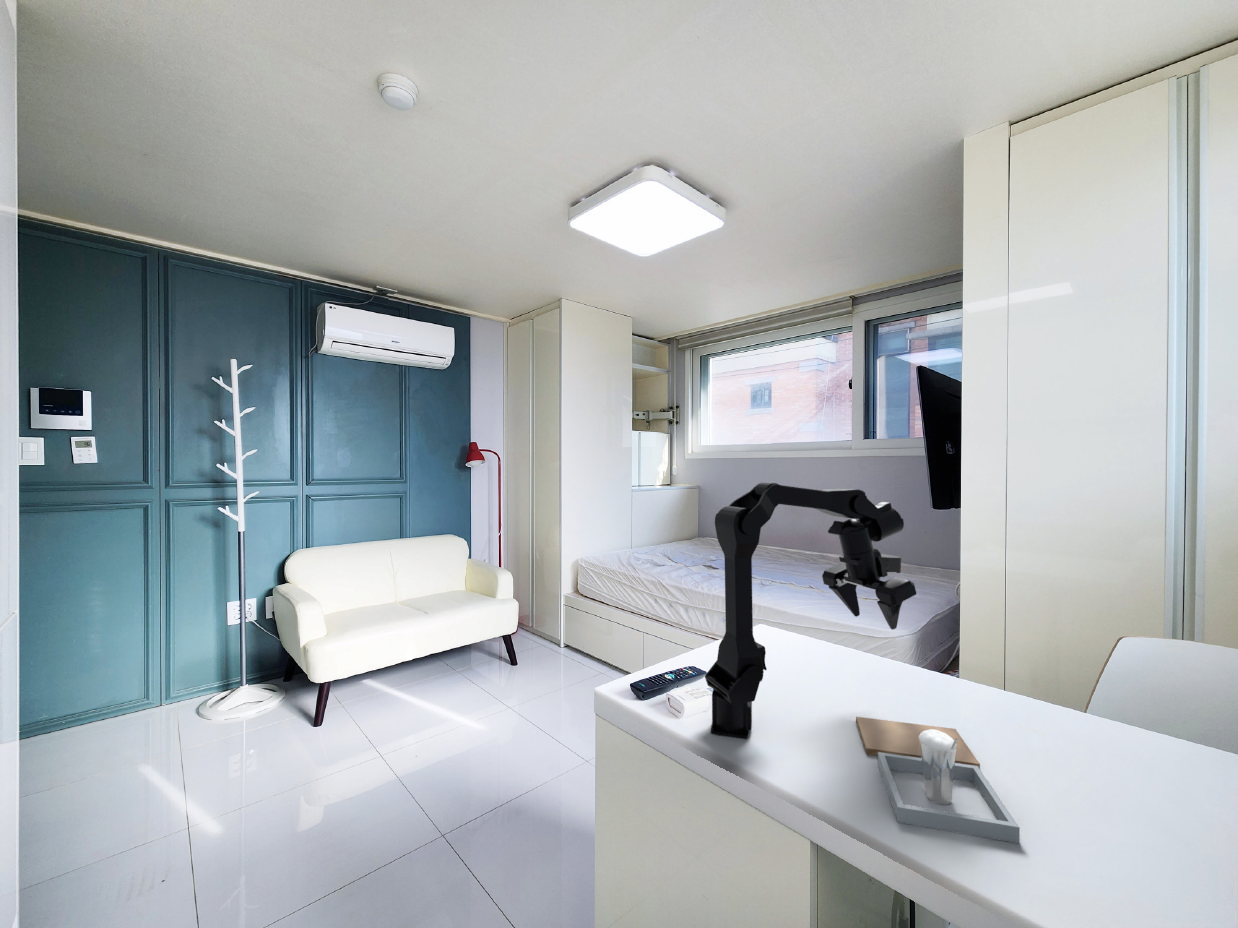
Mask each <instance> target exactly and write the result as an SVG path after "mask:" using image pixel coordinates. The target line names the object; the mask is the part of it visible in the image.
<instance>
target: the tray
mask: <svg viewBox="0 0 1238 928" xmlns="http://www.w3.org/2000/svg"><path fill="white" fill-rule="evenodd" d="M877 766H878V769H879V771H880V775H881V777H882V781H883V783H884V786H885V789H886V792H887V795H888V797H889V801H890V803H891V806H892V808H893V812H894V814H895V815H894V816H895V818H896V821H897V822H898V823H900V824H906V825H912V826H919V827H922V828H923V827H924V828H930V829H935V830H939V831H940V830H941V831H946V832H947V831H948V832H953V833H957V834H958V833H959V834H962V835H963V834H964V835H969V836H975V837H980V838H981V837H982V838H986V839H993V840H998V841H1003V842H1004V841H1005V842H1010V843H1016V844H1020V826H1019V824H1018V823H1017V821H1016V820H1015V818H1014V817H1013V816H1012V814H1011V813H1010V811H1009V810H1008V809H1007V807H1006V805H1005V804H1004V803H1003V801H1002V800H1001V798H1000V797H999V795H998V794H997V792H996V791H995V789H994V788H993V786H992V785H991V784H990V782H989V781H988V779H987V778H986V777H985V775H984V773H983V771H982V769H981V768H980V769H979V767H978V766H974V765H967V764H960V763H955V765H954V778H953V780H960V781H966V782H973V783H974V785H975V787H976V788H977V789H978V791H979V792H980V794H981V796H982V797H983V798H984V801H985V802H986V803H987V805H988V807H989V808H990V810H991V811H992V813H993V814H994V816H995V818H996V819H995V818H988V817H984V816H983V817H980V816H975V815H970V814H965V813H958V812H953V811H947V810H940V809H934V808H933V809H932V808H926V807H920V806H917V805H916V806H915V805H909V804H905V803H903V800H902V797H901V795H900V792H899V790H898V787H897V784H896V782H895V780H894V777H893V774H892V771H891V770H893V771H900V772H906V773H907V772H908V773H914V774H921V775H923V771H922V759H921V758H917V757H910V756H903V755H896V754H889V753H881V752H878V756H877Z"/></svg>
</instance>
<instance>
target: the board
mask: <svg viewBox="0 0 1238 928" xmlns="http://www.w3.org/2000/svg"><path fill="white" fill-rule="evenodd" d="M855 723H856V727H857V729H858V733H859V735H860V738H861V742H862V744H863V748H864V751H865V754H866V755H868V756H870V755H871V756H875V757H876V756H877V757H878V752H881V753H889V754H896V755H903V756H910V757H917V758H921V751H920V743H919V735H920V734H921V733H922V732H923V731H924V730H929V729H934V730H938V731H941V732H943V733H946V734H947V735H949V736H950V737H951V738H952V739H953V740H954V741H955V739H956V738H958V740H957V742H956V745H957V747H956V756H955V763H960V764H967V765H974V766H978V767H979V769H980V770H981V764H980V762H979V761H978V759H977V758H976V757H975V754H974V753H973V752H972V750H971V749H970V748H969V746H968V745H967V743H966V742H965V740H964V739H963V737H962V736H961V735H960V733H959V732H958V730H957V729H956V728H953V727H943V726H934V725H928V724H927V725H926V724H918V723H910V722H904V721H893V720H888V719H878V718H872V717H871V718H870V717H865V716H864V717H862V716H855Z"/></svg>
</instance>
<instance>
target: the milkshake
mask: <svg viewBox="0 0 1238 928" xmlns="http://www.w3.org/2000/svg"><path fill="white" fill-rule="evenodd" d="M957 740H958V738H956V739H955V741H954V740H953V739H952V738H951V737H950V736H949V735H947V734H946V733H943V732H941V731H938V730H934V729H929V730H924V731H923V732H922V733H921V734H920V735H919V743H920V751H921V759H922V771H923V774H922V779H923V791H924V796H925V798H927V799H928V800H929V801H931V802H932V803H935V804H937V805H943V806H944V805H950V804H951V803H952V801H953V792H954V791H953V789H954V779H953V778H954V765H955V756H956V747H957V745H956V742H957Z"/></svg>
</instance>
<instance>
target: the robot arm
mask: <svg viewBox="0 0 1238 928" xmlns="http://www.w3.org/2000/svg"><path fill="white" fill-rule="evenodd" d="M779 505H782V506H791V507H799V508H806V509H807V508H809V509H815V510H818V511H819V512H821V513H824V514H826V515H829V516H832V517H837V518H845V519H846V520H844V521H842V520H841V521H839V520H834V521H832V522H833V523H832V524H831V526H830V527H829V528H828V530H827V533H828V534H831V535H835V536H836V535H837V536H838V539H839V543H840V547H841V551H842V555H840V556H839V559H838V560H839V562H841V563H839V564H836V565H834V566H832V567H829V568H828V569H825V570H823V573H822V575H821V577H822V581H823V585H826V586H828V588H829V589H830V590H832V592H833V593H835V595H836V596H837V597H838V598H839V599H840V600H841V601H842V603H843V604H844V606H846V607H847V610H849V611H850V613H851V614H852V615H853V616H854V617H856V618H857V617H859V616H860V613H861V612H860V605H859V600H858V593H857V586H859V587H863V588H864V587H865V588H869V589H872V590H875V591H874V592H875V597H876V598H877V599H878V600H877V601H876V602H877V603H876V604H877V605H878V607H879V609H880V611H881V613H882V615H883V617H884V620H885V621H886V623H887V625H888V627H889V628H890V629H891V630H895V629H897V627H898V622H899V616H900V611H901V608H902V604H903V602H905V601H906V600H908V599H911V598H912V597H914V596H916V595H917V589H916V585H915V583H914V582H913V581H911V580H910V579H904V578H902V577H896V576H893V577H892V578H889V579H887V580H886V581H884V580H881V578H885V577H886V576H888V573H896V574H901V573H902V572H901V570H902V557H901V556H896V555H892V554H891V555H890V554H885V553H881V552H880V551H879V549H877V548H874V544H873V542H876V543H877V542H880V541H882V540H886V539H887V538H889V537H891V536H894V535H896V534H899V533H900V532H902V531H903V529H904V527H905V523H904V519H903V517H902V516H901V514H900V513H899V512H898V511H897V510H896V509H895V508H893V507H892V503H891V502H886V501H881V502H879V503H877V504H876V505H875V504H874V503H872V501H871V500H870V499H868V497H867V495H866V492H865V491H864V490H861V489H855V488H838V487H837V488H824V489H820V490H819V489H811V488H805V487H799V486H790V485H782V484H779V483H776V482H759V483H757V484H756V485H755V486H754V487H753V488H752V489H751V490H750V491H748V492H746V493H745V494H743V495H741V496H740V497H738V498H736V499H735V500H733V501H732V502H731V503H730V504H729V505H727V506H724V507H722V508H721V509H720V510H719V511H718V512H717V513H716V514H715V516H714V526H715V527H714V528H715V533H716V534H715V535H716V537H717V541H718V543H719V546H720V549H721V551H722V553H723V556H724V557H723V558H724V604H725V605H724V606H725V607H724V608H725V609H724V611H725V633H724V635H723V637H722V639H721V641H720V642H719V645H718V651H717V657H716V658H717V659H716V661H715V662H714V663H713V665H712V666H711V667H710V668H709V669H708V671H707V672H706V674H705V675H704V678H705V681H706V684H707V686H708V687H710V688H711V689H712V693H711V718H712V719H711V726H710V734H716V735H723V736H727V737H736V738H744V739H747V738H749V737H750V736H749V734H750V731H751V730H752V728H753V702H755V700H756V697H757V693H758V690H759V687H760V683H761V682H762V681H763V679H764V671H767V666H766V654H767V653H766V647H765V646H764V645H762V644H760V643H759V642H757V641H756V640H755V638H754V630H753V629H754V628H753V627H754V622H753V619H754V617H753V613H754V612H753V609H754V608H753V560H752V559H753V555H754V553H755V551H756V550H757V547H758V546H759V543H760V540H761V539H760V537H761V533H762V532H761V530H762V527H763V526H765V524H767V523H768V522H769V521H770V519H771V518H772V516H773V514H774V511H775V509H776V508H777V506H779ZM842 563H844V564H842Z"/></svg>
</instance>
